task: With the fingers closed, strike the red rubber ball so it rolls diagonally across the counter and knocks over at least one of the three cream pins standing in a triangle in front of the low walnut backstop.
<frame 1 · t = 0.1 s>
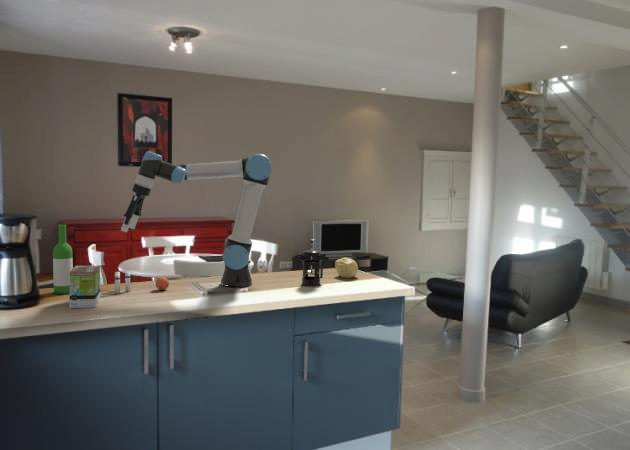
hand: (127, 229, 233), 28 cm above the worktop, tool tilted 20°, fingers open, 13 cm apart
right pin: (117, 290, 234), on the worktop
backstop: (93, 293, 228), on the worktop
tea box: (85, 304, 210), on the worktop
left pin: (117, 293, 229), on the worktop
ball: (162, 283, 238), on the worktop
wine bottle: (63, 292, 228), on the worktop
sculpture: (346, 277, 282), on the worktop
french press: (311, 284, 260), on the worktop
front pin: (127, 291, 233), on the worktop
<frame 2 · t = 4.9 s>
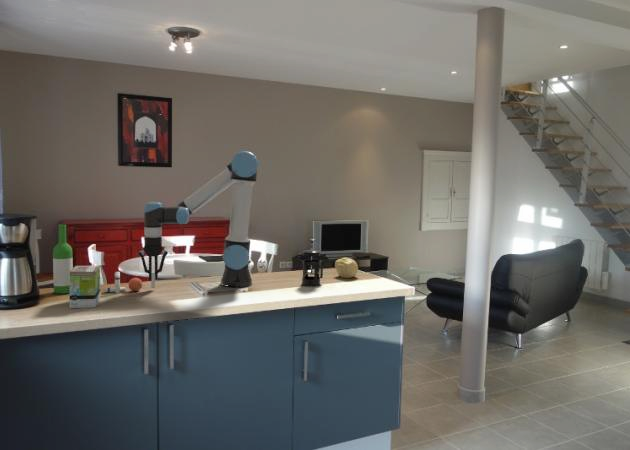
hand: (153, 287, 237), 1 cm above the worktop, tool pointing down, fingers closed
ball: (135, 284, 234), on the worktop
front pin: (125, 289, 233), point 1 cm above the worktop, tilted 90°
everything else where it was.
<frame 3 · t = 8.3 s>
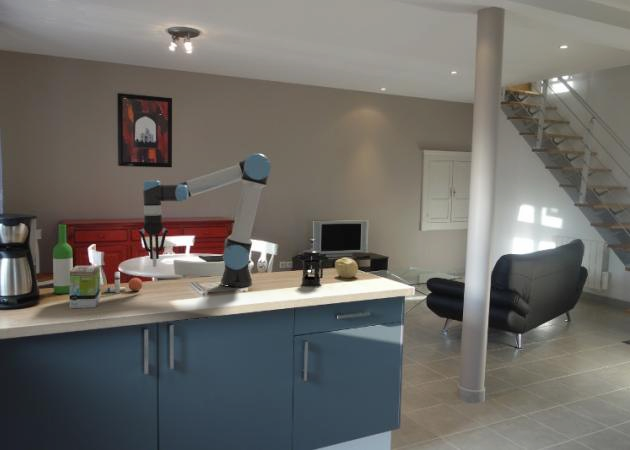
hand: (154, 266, 236), 11 cm above the worktop, tool pointing down, fingers closed
nothing on the worktop moved.
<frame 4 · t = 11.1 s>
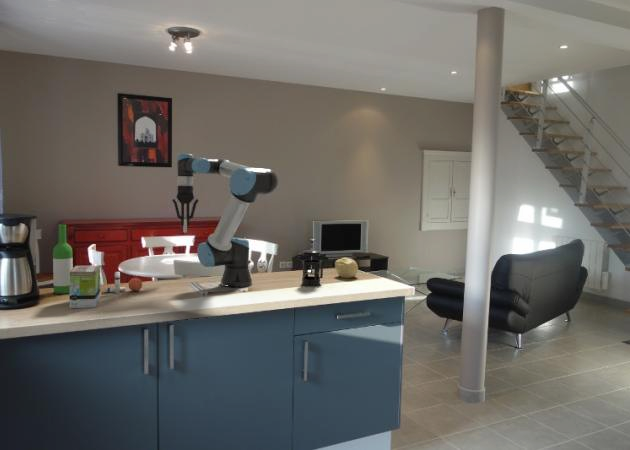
hand: (185, 232, 259), 24 cm above the worktop, tool pointing down, fingers closed
nothing on the worktop moved.
at the end: 1 of 3 knocked over (down: front pin; still standing: left pin, right pin); front pin never touched the robot; ball moved 11.7 cm from its start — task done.
